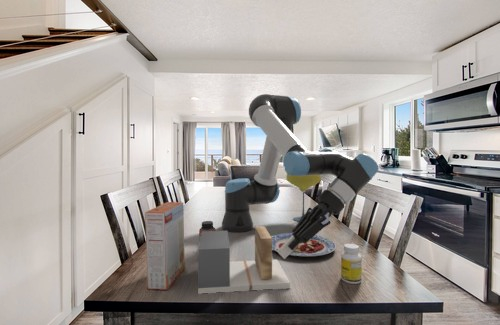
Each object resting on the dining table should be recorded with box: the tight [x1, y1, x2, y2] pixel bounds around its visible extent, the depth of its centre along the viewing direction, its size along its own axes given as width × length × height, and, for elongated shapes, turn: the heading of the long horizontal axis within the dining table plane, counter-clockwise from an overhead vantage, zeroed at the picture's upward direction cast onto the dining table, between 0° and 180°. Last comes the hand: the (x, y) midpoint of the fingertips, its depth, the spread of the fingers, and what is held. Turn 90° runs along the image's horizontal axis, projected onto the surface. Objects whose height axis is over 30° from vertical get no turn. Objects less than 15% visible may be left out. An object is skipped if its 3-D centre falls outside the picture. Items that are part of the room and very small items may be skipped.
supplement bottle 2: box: [340, 243, 363, 285], centre depth 76 cm, size 5×5×10 cm
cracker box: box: [144, 201, 186, 291], centre depth 77 cm, size 14×6×21 cm, turn 174°
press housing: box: [197, 230, 291, 295], centre depth 78 cm, size 24×16×12 cm, turn 97°
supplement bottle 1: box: [198, 220, 217, 243], centre depth 97 cm, size 6×6×11 cm
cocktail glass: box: [286, 173, 322, 223], centre depth 146 cm, size 18×18×25 cm
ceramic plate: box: [271, 232, 337, 257], centre depth 103 cm, size 26×26×3 cm
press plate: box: [254, 225, 273, 279], centre depth 79 cm, size 3×12×11 cm, turn 7°
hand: (280, 255), depth 79 cm, fingers closed
